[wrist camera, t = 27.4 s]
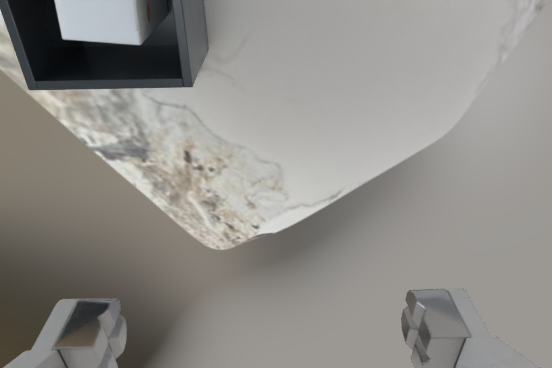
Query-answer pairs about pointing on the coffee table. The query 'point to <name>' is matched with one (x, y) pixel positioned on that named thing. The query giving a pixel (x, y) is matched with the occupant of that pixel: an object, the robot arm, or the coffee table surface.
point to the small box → (110, 20)
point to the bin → (106, 50)
